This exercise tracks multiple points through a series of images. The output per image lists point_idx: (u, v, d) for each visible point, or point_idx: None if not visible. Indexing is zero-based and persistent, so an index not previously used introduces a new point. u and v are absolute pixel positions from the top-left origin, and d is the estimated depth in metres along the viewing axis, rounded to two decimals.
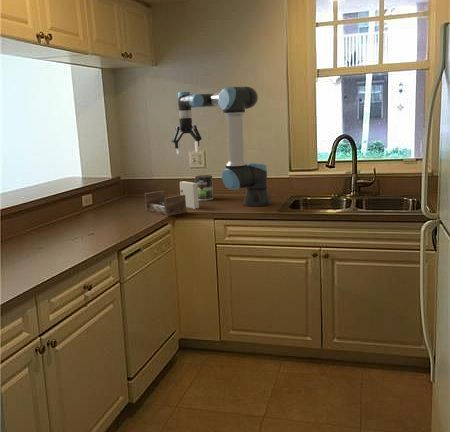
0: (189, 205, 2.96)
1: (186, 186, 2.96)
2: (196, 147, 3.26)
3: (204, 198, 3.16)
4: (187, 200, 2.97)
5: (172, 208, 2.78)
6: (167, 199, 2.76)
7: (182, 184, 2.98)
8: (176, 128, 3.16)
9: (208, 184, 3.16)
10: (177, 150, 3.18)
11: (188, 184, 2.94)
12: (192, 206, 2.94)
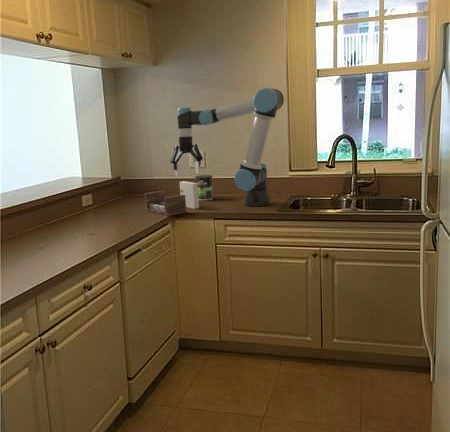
0: (189, 205, 2.96)
1: (186, 186, 2.96)
2: (197, 168, 2.98)
3: (204, 198, 3.16)
4: (187, 200, 2.97)
5: (172, 208, 2.78)
6: (167, 199, 2.76)
7: (182, 184, 2.98)
8: (175, 148, 2.88)
9: (208, 184, 3.16)
10: (176, 171, 2.91)
11: (188, 184, 2.94)
12: (192, 206, 2.94)
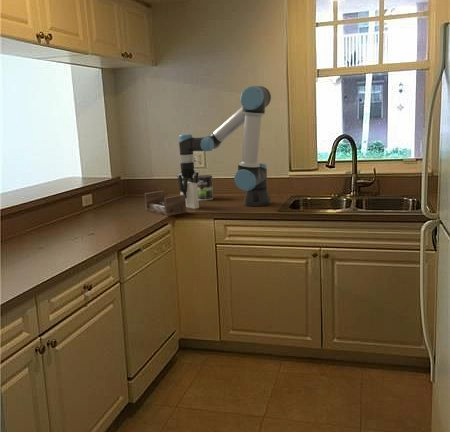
0: (189, 205, 2.96)
1: None
2: None
3: (204, 198, 3.16)
4: None
5: (172, 208, 2.78)
6: (167, 199, 2.76)
7: None
8: (178, 177, 2.92)
9: (208, 184, 3.16)
10: (186, 200, 2.97)
11: (188, 184, 2.94)
12: (192, 206, 2.94)
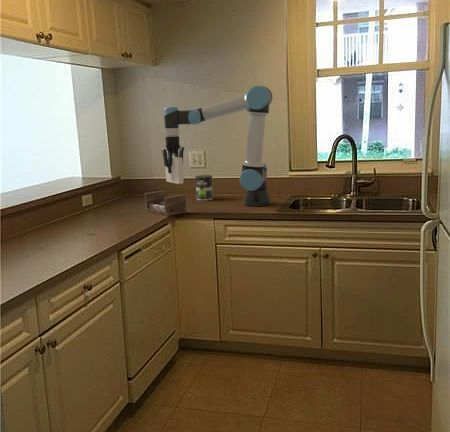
0: (174, 180, 2.88)
1: None
2: None
3: (204, 198, 3.16)
4: None
5: (172, 208, 2.78)
6: (167, 199, 2.76)
7: None
8: (163, 151, 2.84)
9: (208, 184, 3.16)
10: (170, 175, 2.89)
11: (173, 158, 2.86)
12: (176, 181, 2.86)
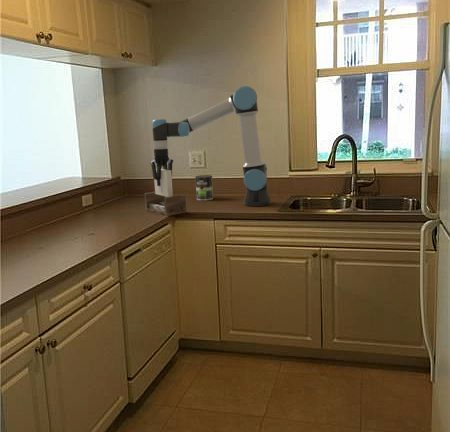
0: (163, 193, 2.85)
1: None
2: None
3: (204, 198, 3.16)
4: None
5: (172, 208, 2.78)
6: (167, 199, 2.76)
7: (156, 171, 2.87)
8: (151, 164, 2.81)
9: (208, 184, 3.16)
10: (159, 188, 2.86)
11: (162, 171, 2.83)
12: (166, 194, 2.83)
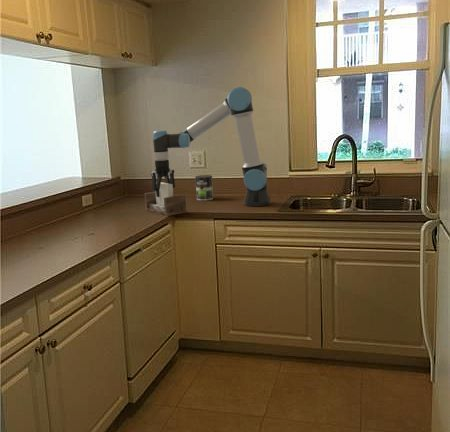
0: None
1: (161, 187, 2.86)
2: None
3: (204, 198, 3.16)
4: (162, 201, 2.88)
5: (172, 208, 2.78)
6: (167, 199, 2.76)
7: None
8: (152, 174, 2.82)
9: (208, 184, 3.16)
10: (159, 198, 2.86)
11: (163, 185, 2.84)
12: None
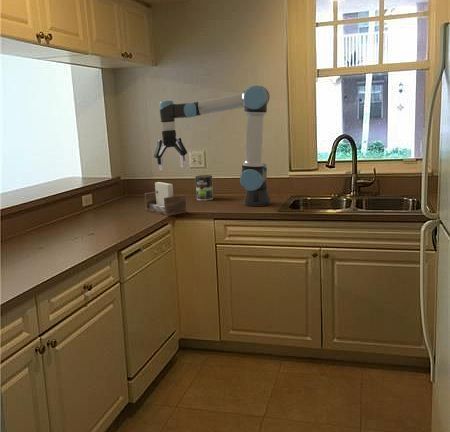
0: None
1: (161, 187, 2.86)
2: (181, 162, 2.93)
3: (204, 198, 3.16)
4: (162, 201, 2.88)
5: (172, 208, 2.78)
6: (167, 199, 2.76)
7: (158, 185, 2.89)
8: (158, 142, 2.82)
9: (208, 184, 3.16)
10: (160, 166, 2.85)
11: (163, 185, 2.84)
12: None
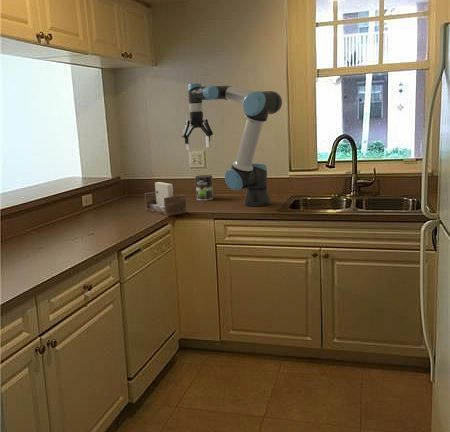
0: None
1: (161, 187, 2.86)
2: (207, 142, 3.07)
3: (204, 198, 3.16)
4: (162, 201, 2.88)
5: (172, 208, 2.78)
6: (167, 199, 2.76)
7: (158, 185, 2.89)
8: (186, 122, 2.97)
9: (208, 184, 3.16)
10: (187, 145, 3.00)
11: (163, 185, 2.84)
12: None
